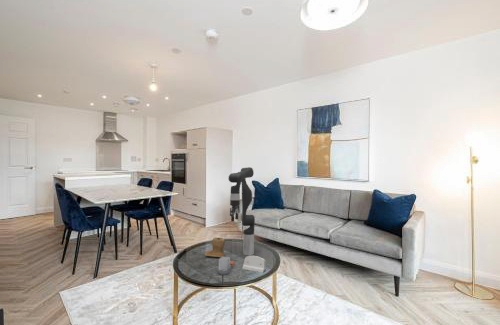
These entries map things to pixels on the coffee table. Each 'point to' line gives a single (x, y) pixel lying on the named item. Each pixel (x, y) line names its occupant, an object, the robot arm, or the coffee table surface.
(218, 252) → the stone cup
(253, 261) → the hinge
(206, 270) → the coffee table surface
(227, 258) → the socket
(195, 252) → the coffee table surface
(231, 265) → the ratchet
